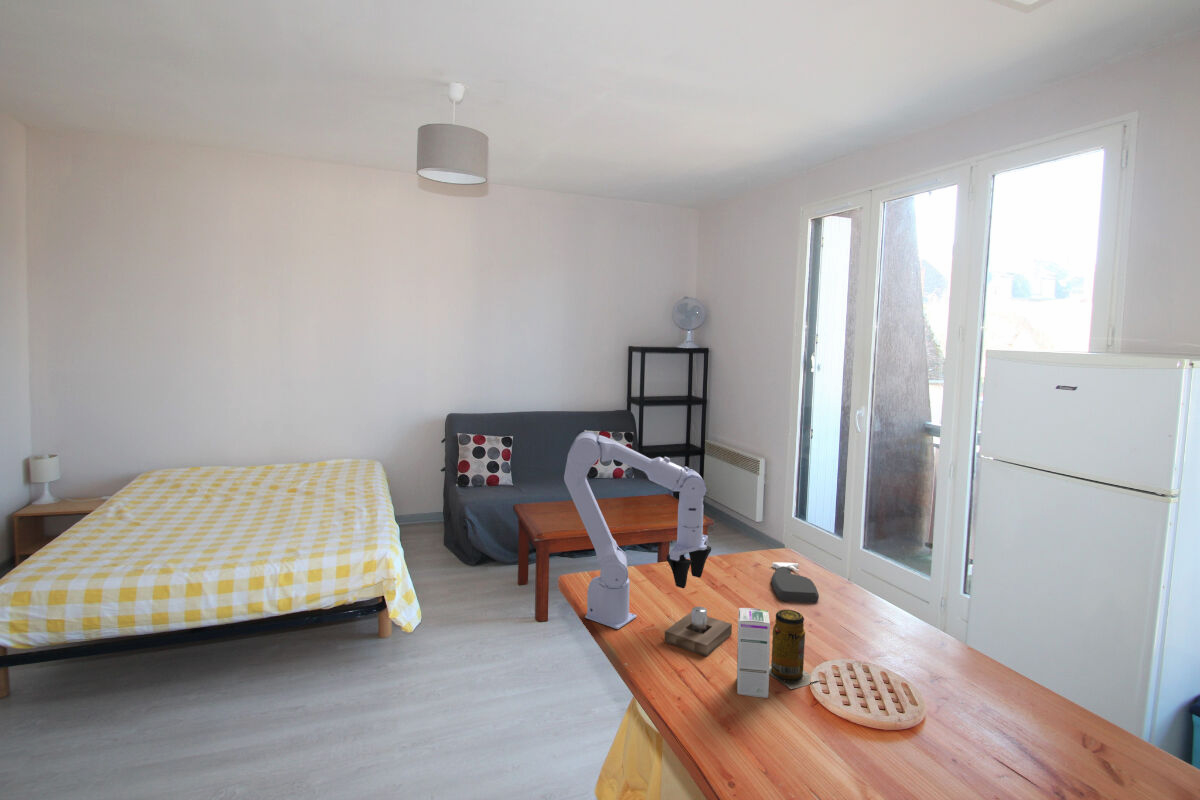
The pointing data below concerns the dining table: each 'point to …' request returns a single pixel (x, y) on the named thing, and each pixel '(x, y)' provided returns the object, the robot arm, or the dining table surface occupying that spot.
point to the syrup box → (753, 652)
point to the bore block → (698, 635)
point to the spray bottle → (793, 584)
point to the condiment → (789, 649)
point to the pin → (699, 619)
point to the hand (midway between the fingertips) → (688, 581)
